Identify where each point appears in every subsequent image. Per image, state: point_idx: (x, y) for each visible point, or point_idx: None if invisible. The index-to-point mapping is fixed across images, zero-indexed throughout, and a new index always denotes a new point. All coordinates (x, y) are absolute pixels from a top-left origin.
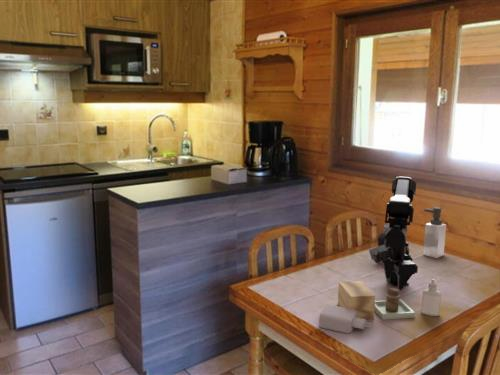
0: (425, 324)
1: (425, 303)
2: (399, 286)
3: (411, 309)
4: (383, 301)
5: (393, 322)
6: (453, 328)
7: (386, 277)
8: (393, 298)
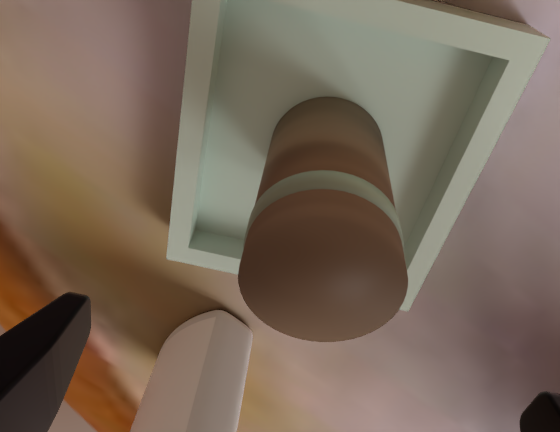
0: (68, 229)
1: (182, 377)
2: (6, 336)
3: (219, 268)
4: (457, 164)
5: (133, 19)
6: (6, 325)
7: (555, 409)
8: (262, 198)
